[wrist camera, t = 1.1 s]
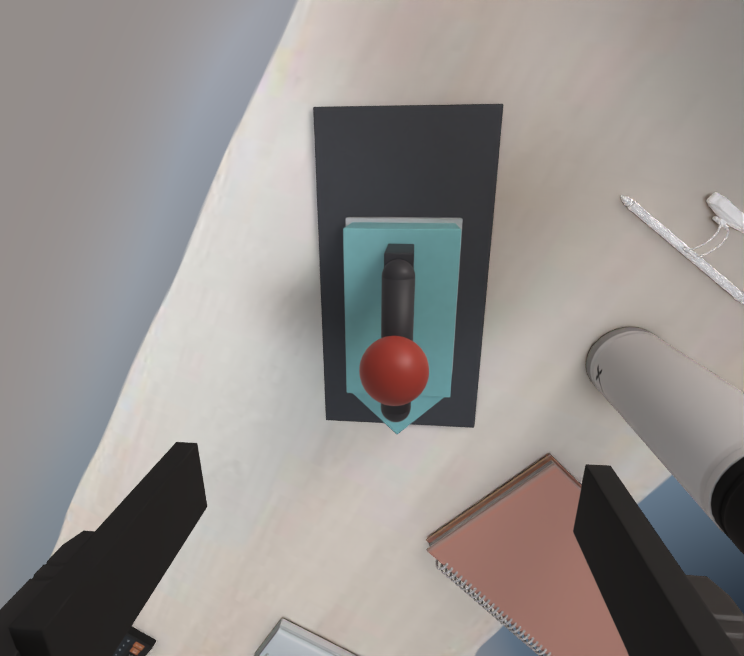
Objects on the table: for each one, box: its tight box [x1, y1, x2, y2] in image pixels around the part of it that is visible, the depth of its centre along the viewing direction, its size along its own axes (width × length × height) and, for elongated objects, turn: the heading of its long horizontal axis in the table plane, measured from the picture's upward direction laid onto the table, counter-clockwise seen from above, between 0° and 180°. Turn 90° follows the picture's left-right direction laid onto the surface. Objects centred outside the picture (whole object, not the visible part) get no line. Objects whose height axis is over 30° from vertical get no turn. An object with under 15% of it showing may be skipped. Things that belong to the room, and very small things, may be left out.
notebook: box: [426, 454, 629, 656], centre depth 44 cm, size 27×17×2 cm, turn 46°
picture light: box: [620, 192, 744, 304], centre depth 32 cm, size 14×4×2 cm, turn 54°
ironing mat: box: [313, 104, 503, 428], centre depth 36 cm, size 14×27×1 cm, turn 0°
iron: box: [343, 217, 463, 434], centre depth 29 cm, size 17×9×16 cm, turn 0°
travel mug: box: [586, 327, 744, 554], centre depth 27 cm, size 6×7×20 cm
